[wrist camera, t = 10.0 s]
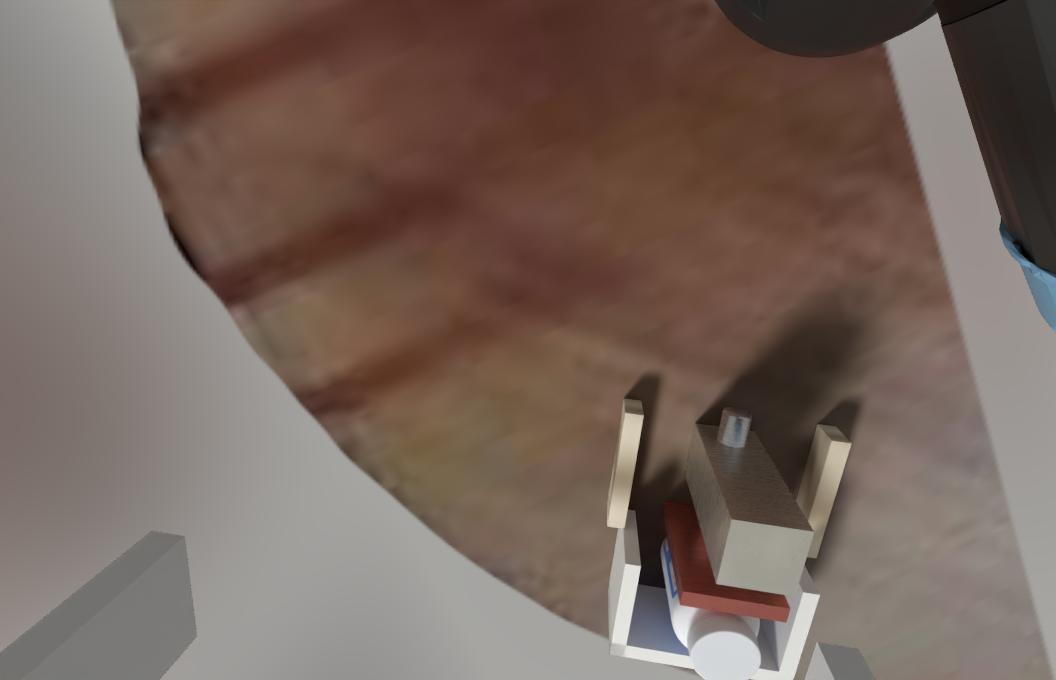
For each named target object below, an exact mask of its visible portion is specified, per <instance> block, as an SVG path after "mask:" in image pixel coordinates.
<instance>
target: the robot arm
mask: <svg viewBox="0 0 1056 680" xmlns="http://www.w3.org/2000/svg"><path fill="white" fill-rule="evenodd" d="M715 1H716V3H717V4H718V6H719V7H720V9H721V10H722V11H723V12H724V14H725V15H726V16H727V17H728V18H729V20H730V21H731V22H732V23H733V24H734V25H735V26H736V27H738V28H739V29H740V30H741V31H742V32H743V33H745V34H746V35H748V36H749V37H750V38H752V39H754V40H755V41H757V42H759V43H760V44H762V45H764V46H767V47H769V48H771V49H774V50H776V51H779V52H783V53H786V54H791V55H796V56H802V57H834V56H841V55H847V54H852V53H855V52H859V51H862V50H865V49H868V48H871V47H874V46H876V45H878V44H881V43H883V42H885V41H888V40H890V39H892V38H894V37H896V36H899V35H901V34H903V33H905V32H907V31H909V30H911V29H913V28H914V27H916V26H918V25H919V24H921V23H923V22H924V21H926V20H927V19H929V18H930V17H932V16H933V15H935V14H936V13H938V15H939V18H940V20H941V24H942V25H941V26H942V29H943V33H944V36H945V39H946V42H947V45H948V48H949V52H950V55H951V58H952V62H953V65H954V68H955V71H956V74H957V77H958V81H959V84H960V87H961V90H962V93H963V97H964V100H965V103H966V106H967V109H968V113H969V116H970V119H971V122H972V125H973V129H974V132H975V135H976V138H977V141H978V144H979V148H980V151H981V154H982V157H983V161H984V164H985V167H986V170H987V173H988V177H989V179H990V183H991V186H992V189H993V192H994V195H995V199H996V202H997V205H998V208H999V212H1000V215H1001V223H1000V228H999V230H1000V234H1001V237H1002V240H1003V243H1004V245H1005V247H1006V248H1007V250H1008V251H1009V253H1010V254H1011V256H1012V257H1013V258H1014V259H1015V260H1016V261H1017V262H1019V263H1020V265H1021V267H1022V270H1023V272H1024V275H1025V277H1026V280H1027V283H1028V285H1029V287H1030V290H1031V293H1032V295H1033V298H1034V300H1035V303H1036V305H1037V307H1038V309H1039V311H1040V313H1041V315H1042V316H1043V318H1044V319H1045V320H1046V322H1047V323H1048V324H1049V325H1050V327H1051V328H1052V329H1053V330H1054V331H1055V332H1056V0H715ZM196 637H197V631H196V624H195V615H194V607H193V599H192V591H191V583H190V575H189V567H188V559H187V551H186V543H185V536H180V535H174V534H168V533H162V532H155V531H151V532H150V533H148V534H147V535H146V536H145V537H143V538H142V539H141V540H140V541H138V542H137V543H136V544H135V545H133V546H132V547H131V548H130V549H129V550H127V551H126V552H125V553H124V554H122V555H121V556H120V557H119V558H117V559H116V560H115V561H114V562H112V563H111V564H110V565H109V566H107V567H106V568H105V569H104V570H102V571H101V572H100V573H99V574H97V575H96V576H95V577H94V578H93V579H91V580H90V581H89V582H87V583H86V584H85V585H84V586H82V587H81V588H80V589H79V590H77V591H76V592H75V593H74V594H72V595H71V596H70V597H69V598H68V599H66V600H65V601H64V602H63V603H61V604H60V605H59V606H58V607H56V608H55V609H54V610H53V611H51V612H50V613H49V614H48V615H46V616H45V617H44V618H43V619H42V620H40V621H39V622H38V623H36V624H35V625H34V626H33V627H31V628H30V629H29V630H28V631H26V632H25V633H24V634H23V635H22V636H20V637H19V638H18V639H17V640H16V641H14V642H13V643H12V644H10V645H9V646H8V647H7V648H5V649H4V650H3V651H2V652H0V680H160V679H161V678H162V676H163V675H164V674H165V673H166V671H168V669H169V668H170V667H171V666H172V665H173V664H174V662H175V661H176V660H177V659H178V658H179V657H180V655H181V654H182V653H183V652H184V651H185V650H186V649H187V647H188V646H189V645H190V644H191V643H192V642H193V640H194V639H195V638H196ZM805 680H875V678H874V677H873V675H872V673H871V671H870V669H869V667H868V666H867V664H866V662H865V660H864V658H863V656H862V654H861V653H860V651H859V649H856V648H850V647H844V646H838V645H832V644H826V643H820V642H817V644H816V647H815V650H814V653H813V656H812V659H811V662H810V665H809V668H808V671H807V675H806V678H805Z"/></svg>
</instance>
